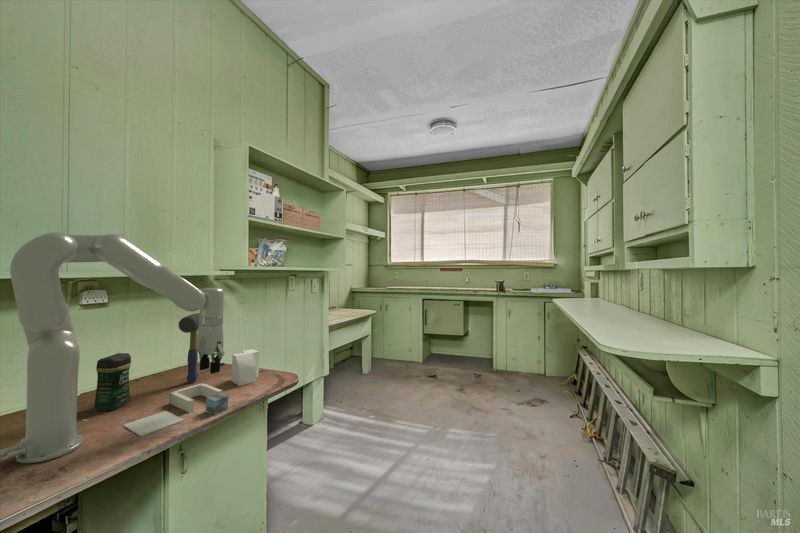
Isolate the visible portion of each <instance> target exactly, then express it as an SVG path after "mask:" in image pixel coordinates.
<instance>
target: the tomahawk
mask: <svg viewBox="0 0 800 533" xmlns="http://www.w3.org/2000/svg"><path fill="white" fill-rule="evenodd" d="M225 363H226V362H220V367H222V366H223V365H225ZM209 372H210V368H208V369H204V370H201V371H200V372H198V373H197V377H199V375H202V374H205V373H209Z"/></svg>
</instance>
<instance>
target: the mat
mask: <svg viewBox="0 0 800 533" xmlns="http://www.w3.org/2000/svg"><path fill="white" fill-rule="evenodd" d="M184 421H185V419H184V418H181V417H180V416H177V415H176V414H174V413H172V412H169V411H167V410H163V411H161V412H158V413H155V414H152V415H149V416H146V417H143V418H139V419H137V420H134V421H131V422H128V423H124V424H123V427H124V428H126V429H127V428H128V429H127V430H129V431H131V432H133V434H135V433H136V435H137V436H139V437H140V436H141V437H145V436H147V435H146V434H148V435H150V434H152V433H151V432H153V433H155V432H154V431H156V432H158V431H161V430H163V428H164V429H166V428H169V427H171V426H174V425H177V424H180V423H182V422H184ZM168 426H169V427H168ZM160 429H161V430H160ZM157 430H158V431H157ZM149 433H150V434H149ZM144 435H145V436H144ZM141 437H140V438H141Z"/></svg>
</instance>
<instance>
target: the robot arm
mask: <svg viewBox="0 0 800 533" xmlns="http://www.w3.org/2000/svg"><path fill="white" fill-rule="evenodd" d="M102 262H105V263H107V264H108V265H110V266H111V267H113V268H114V269H116V270H118V271H120V272H121V273H122V274H124V275H125V276H127V277H129V278H130V279H132V280H133V281H135V282H136V283H138V284H140V286H142V287H145V288H147V289H150V290H152V291H154V292H156V293H158V294H159V295H160V294H161V295H162V296H163V297H165V298H167V299H168V300H170V301H172V303H173V304H174V305H175V306H176V307H177V308H179V309H182V310H185V311H186V312H196V311H199V313H200V316H199V327H198V330H197V340H196V351H197V353H198V354H199V355H198V356H199V357H198V359H199V371H205V370H207V369H210V371H209V373H210V374H216V373H219V372H221V366H220V363H221V361H222V358H223V357H224V355H225V351H224V344H225V342H224V328H223V326H224V307H225V306H224V304H225V303H224V300H225V299H224V297H225V291H224V289H223V288H220V287H205V288H197V287H196V286H195V285H194V284H192V283H191V282H189V281H188V280H186V279H185V278H183V277H181V276H180V275H178V274H177V273H176V272H174V271H172V270H171V269H170V268H169V267H167V266H166V265H165V264H163V263H161V262H160V261H158V260H156V259H155V258H154V257H152V256H151V255H149V254H148V253H147V252H146V251H144V250H143V249H141V248H139V247H138V246H137V245H135V244H134V243H132V242H131V241H129V240H128V239H127V238H125V237H123V236H121V235H120V234H114V233H108V234H104V235H103V234H102V235H101V234H100V235H99V234H97V235H96V234H93V235H92V234H91V235H88V234H87V235H84V234H67V233H64V232H59V231H58V232H56V231H55V232H54V231H53V232H48V233H47V232H46V233H44V234H41V235H38V236H36V237H34V238H33V239H30V240H29V241H27V242H26V243H25V244H23V245H22V246H20V247H19V248H18V250H17V251H16V252H15V254H14V255H13V257H12V259H11V262H10V267H9V271H10V272H9V273H10V280H11V284H12V288H13V294H14V298H15V302H16V306H17V312H18V314H17V316H18V318H17V319H18V321H19V323H20V325H21V326H22V327H23V331H24V336H25V339H26V342H27V346H28V353H27V359H26V408H25V409H26V413H25V437H23V438H21V439H20V440H21V441H20V442H18V443H16V444H15V445H13V446H9V447H5V448H2V449H0V459H1V458H5V457H6V459H10V458H13V457H15V461H16V462H18V463H21V464H33V463H41V462H45V461H46V462H47V461H49V460H53V459H56V458H58V457H63V456H65V455H67V454H69V453H71V452H73V451H75V450H76V449H78V448H79V447H81V446H82V445H83V443H84V437H83V435H81V434H78V433H77V418H78V416H77V415H78V412H77V411H78V388H79V387H78V386H79V385H78V384H79V382H78V380H79V366H80V346H79V343H78V341H77V337H76V334H75V330H74V326H73V322H72V318H71V313H70V309H69V305H68V303H67V302H66V300H65V297H64V293H63V289H62V284H61V279H60V274H59V273H60V272H59V271H60V268H61V266H62V265H63V264H65V263H102ZM215 355H216V356H215ZM210 358H211V360H210ZM210 361H211V362H210Z"/></svg>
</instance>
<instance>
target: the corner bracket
mask: <svg viewBox="0 0 800 533" xmlns="http://www.w3.org/2000/svg"><path fill="white" fill-rule="evenodd" d="M231 357H232V358H231V380H230V381H231V382H232V383H234V384H235V385H237V386H238V387H239V386H240V387H241V386H245V385H248V384H252V383H256V382H257V379H258V378H259V369H260V368H259V367H260V351H259V350H256V349H254V348H252V349H245V350H241V352H239V353H234V354H232V356H231ZM257 377H258V378H257Z"/></svg>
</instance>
